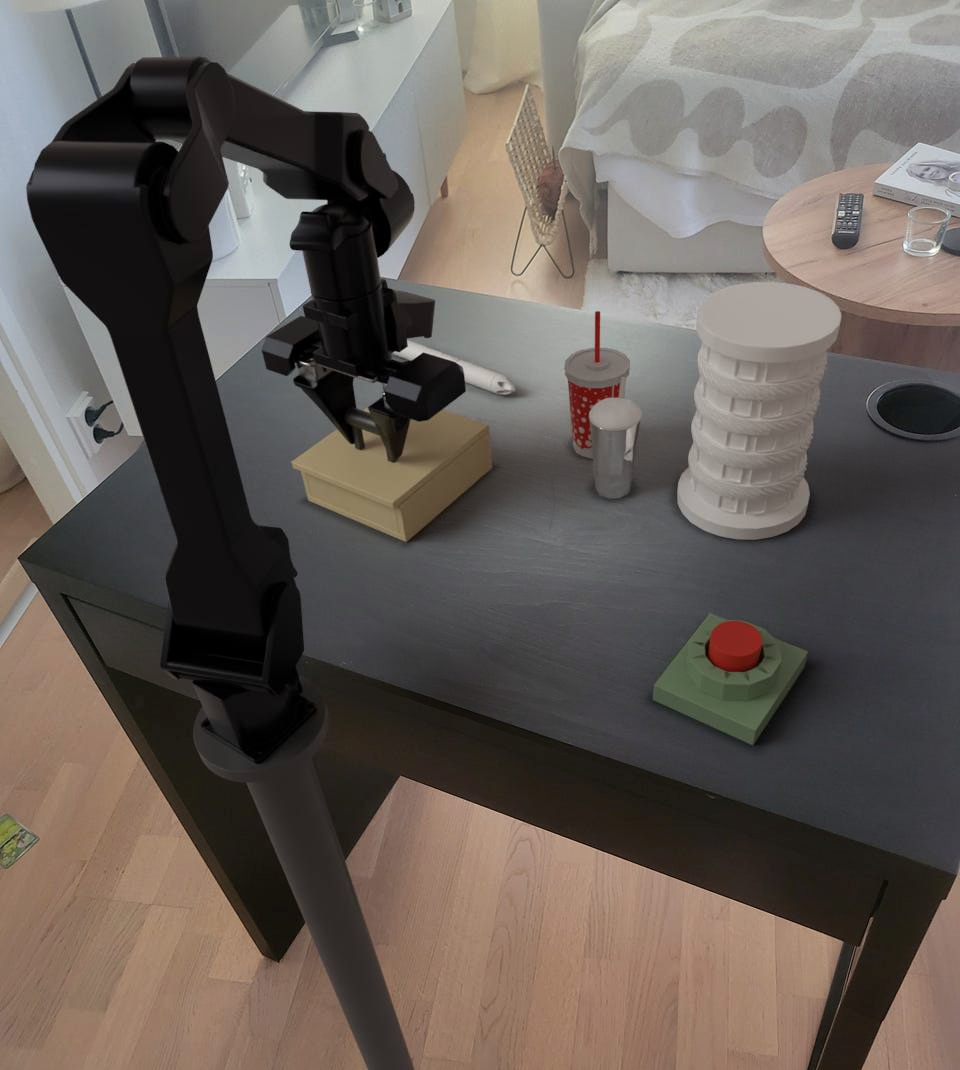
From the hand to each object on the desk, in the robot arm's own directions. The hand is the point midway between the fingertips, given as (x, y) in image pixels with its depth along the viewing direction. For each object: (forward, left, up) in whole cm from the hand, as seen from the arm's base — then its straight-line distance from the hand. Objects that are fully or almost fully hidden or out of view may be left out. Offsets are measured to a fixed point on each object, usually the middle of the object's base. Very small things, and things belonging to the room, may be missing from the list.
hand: (375, 449), depth 87 cm
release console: (-4, -38, -6) cm, 39 cm away
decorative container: (+17, -29, -6) cm, 34 cm away
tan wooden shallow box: (+3, 0, -6) cm, 6 cm away
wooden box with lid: (+2, 0, -1) cm, 2 cm away
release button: (-4, -38, -2) cm, 38 cm away
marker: (+22, +8, -6) cm, 24 cm away
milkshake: (+13, -18, -6) cm, 23 cm away
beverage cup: (+18, -13, -6) cm, 23 cm away
